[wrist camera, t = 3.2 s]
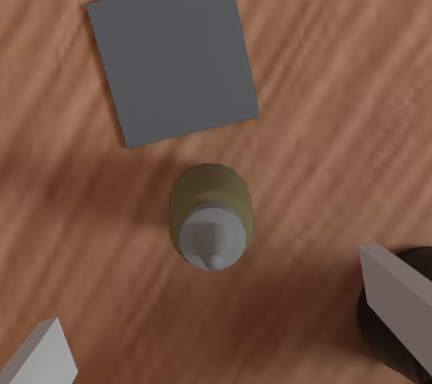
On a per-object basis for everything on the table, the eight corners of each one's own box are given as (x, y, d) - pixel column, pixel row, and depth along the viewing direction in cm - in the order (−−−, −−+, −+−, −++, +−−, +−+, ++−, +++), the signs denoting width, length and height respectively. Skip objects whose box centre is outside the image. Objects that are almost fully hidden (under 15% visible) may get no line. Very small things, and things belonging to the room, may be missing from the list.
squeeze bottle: (165, 223, 39) (132, 309, 21) (180, 150, 37) (159, 179, 20) (236, 238, 39) (262, 334, 22) (254, 168, 38) (298, 210, 20)
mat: (228, -29, 34) (229, -32, 33) (259, 116, 37) (260, 116, 36) (87, 6, 34) (85, 4, 34) (128, 148, 37) (127, 148, 36)
